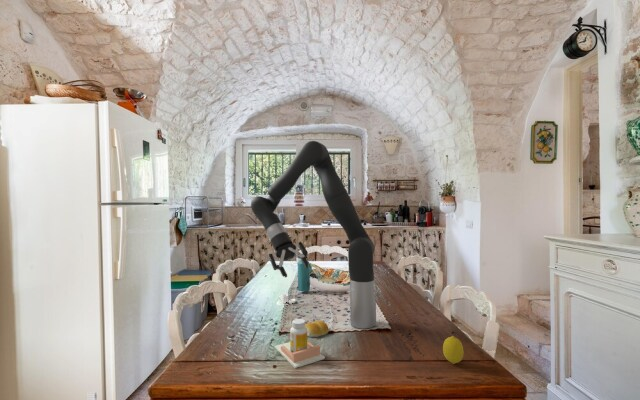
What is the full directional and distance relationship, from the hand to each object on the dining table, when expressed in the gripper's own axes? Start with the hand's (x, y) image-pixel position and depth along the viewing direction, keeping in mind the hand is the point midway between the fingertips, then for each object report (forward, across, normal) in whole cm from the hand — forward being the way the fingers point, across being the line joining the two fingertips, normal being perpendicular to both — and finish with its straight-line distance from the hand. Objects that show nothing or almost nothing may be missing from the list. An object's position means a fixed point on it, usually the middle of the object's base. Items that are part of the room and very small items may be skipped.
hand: (296, 271), depth 119 cm
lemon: (+50, +24, -16) cm, 58 cm away
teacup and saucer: (+1, -2, +35) cm, 35 cm away
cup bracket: (+26, -12, -4) cm, 29 cm away
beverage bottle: (-5, +11, +49) cm, 50 cm away
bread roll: (+21, -2, +8) cm, 23 cm away
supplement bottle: (+26, -12, -4) cm, 29 cm away
